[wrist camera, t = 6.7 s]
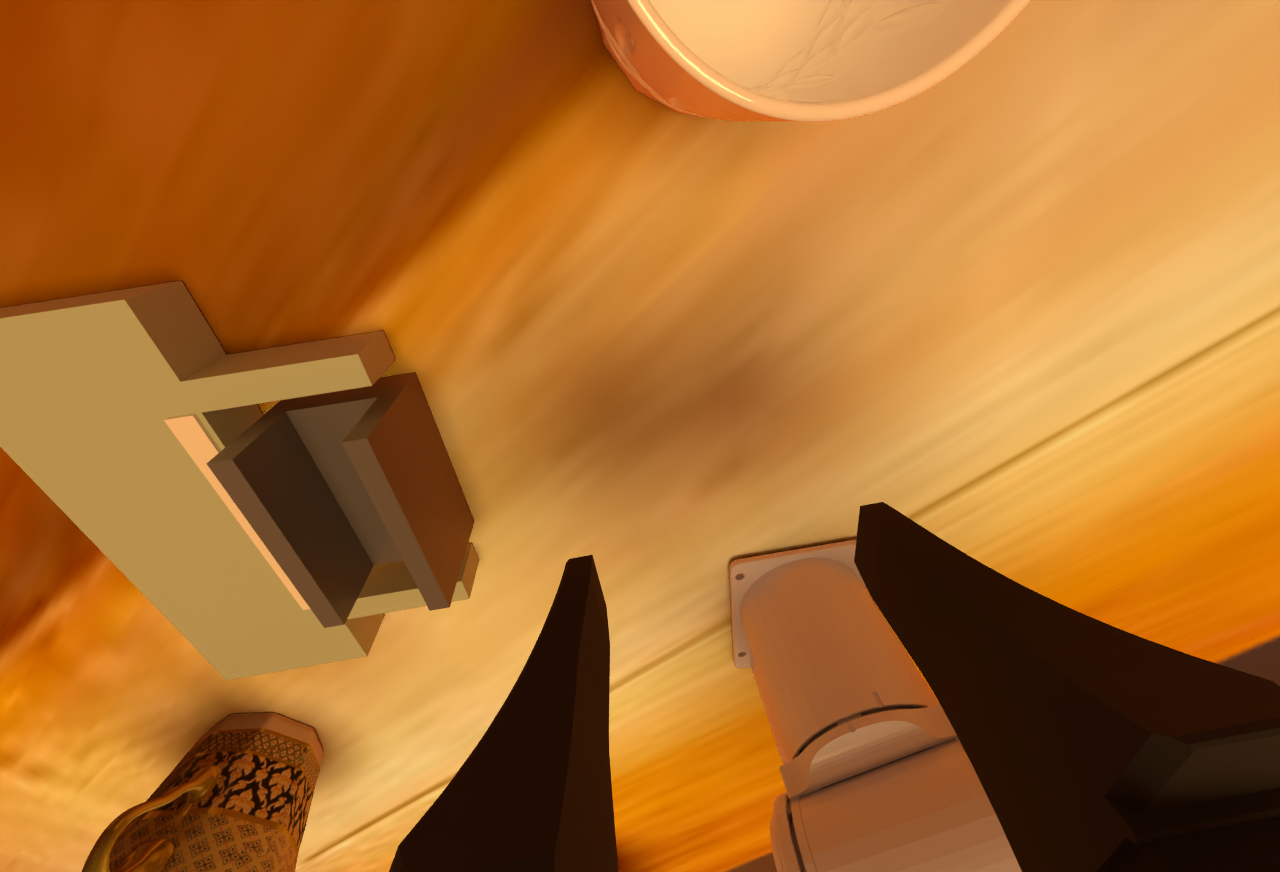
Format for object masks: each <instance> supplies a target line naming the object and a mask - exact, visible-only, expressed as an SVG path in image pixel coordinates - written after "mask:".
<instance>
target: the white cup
mask: <svg viewBox="0 0 1280 872" xmlns="http://www.w3.org/2000/svg"><path fill="white" fill-rule="evenodd" d="M1030 1H1031V0H591V2H592V5H593V8H594V11H595V14H596V16H597V19H598V23H599V27H600V31H601V35H602V39H603V43H604V45H605V46H606V48H607V49H608V51H609V52H610V54H611V55H612V57H613V58H614V59H615V61H616V62H617V64H618V65H619V67H620V68H621V69H622V71H623V72H624V74H625V75H626V77H627V78H628V79H629V81H630V82H631V84H632V85H633V87H634V88H635V89H636V90H637V91H639V92H640V93H642V94H644V95H646V96H648V97H650V98H651V99H653V100H655V101H657V102H659V103H661V104H662V105H664V106H666V107H668V108H670V109H672V110H673V111H675V112H677V113H688V114H691V115H694V116H699V117H705V118H714V119H723V120H731V121H791V122H828V121H838V120H845V119H851V118H856V117H860V116H864V115H868V114H872V113H875V112H878V111H881V110H884V109H887V108H889V107H892V106H894V105H897V104H899V103H901V102H904V101H906V100H908V99H910V98H912V97H914V96H916V95H918V94H920V93H922V92H923V91H925V90H927V89H929V88H930V87H932V86H934V85H935V84H937V83H939V82H940V81H942V80H943V79H945V78H946V77H948V76H949V75H951V74H952V73H953V72H955V71H956V70H958V69H959V68H960V67H962V66H963V65H964V64H966V63H967V62H968V61H969V60H971V59H972V58H973V57H974V56H976V55H977V54H978V53H979V52H980V51H981V50H983V49H984V48H985V47H986V46H987V45H988V44H989V43H990V42H991V41H993V40H994V39H995V38H996V37H997V36H998V35H999V34H1000V33H1001V32H1002V31H1003V30H1004V29H1005V28H1006V27H1007V26H1008V25H1009V24H1010V23H1011V22H1012V21H1013V20H1014V19H1015V18H1016V16H1017V15H1018V14H1019V13H1020V12H1021V11H1022V10H1023V9H1024V8H1025V6H1026V5H1027V4H1028V3H1029V2H1030Z"/></svg>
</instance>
